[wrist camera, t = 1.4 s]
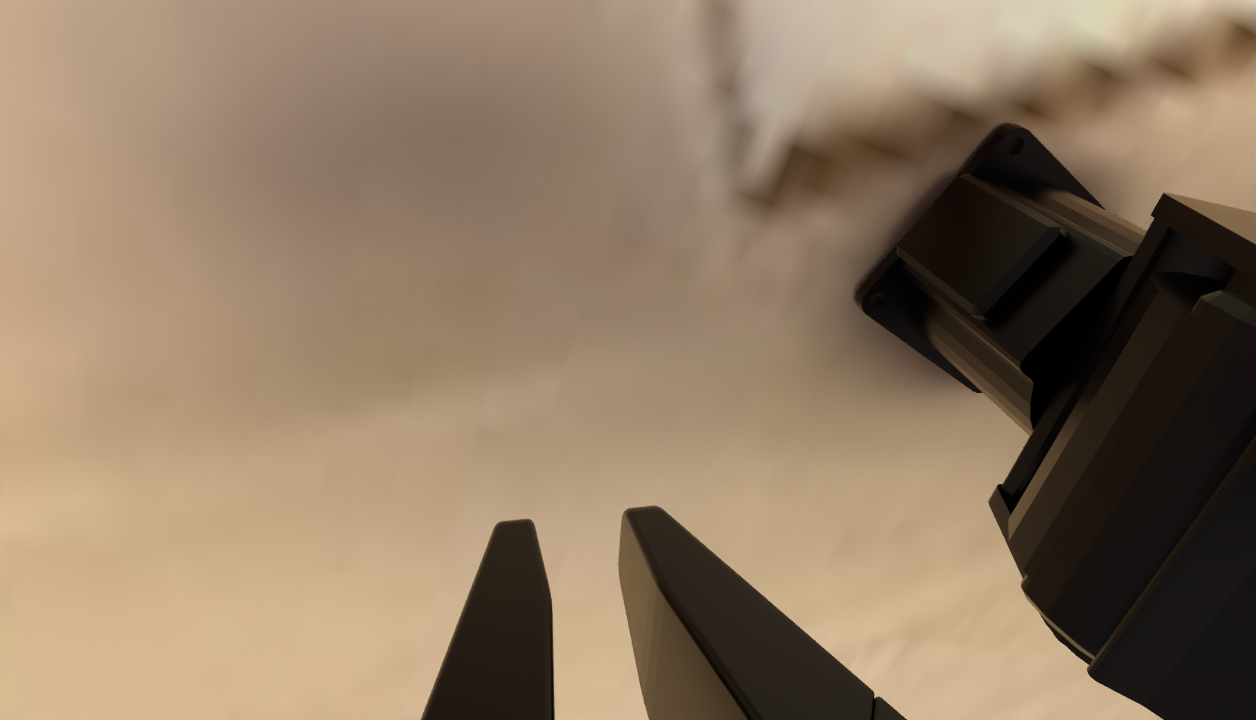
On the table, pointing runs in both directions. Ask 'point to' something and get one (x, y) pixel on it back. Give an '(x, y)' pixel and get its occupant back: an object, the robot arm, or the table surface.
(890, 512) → the table surface
